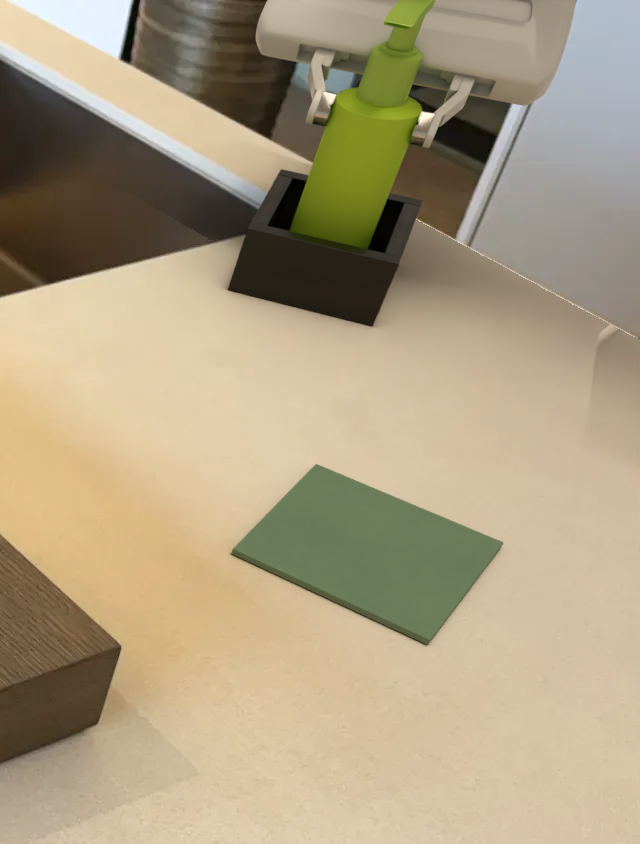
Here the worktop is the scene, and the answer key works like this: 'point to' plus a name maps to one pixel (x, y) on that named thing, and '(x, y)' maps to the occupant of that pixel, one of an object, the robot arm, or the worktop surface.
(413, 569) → the mat
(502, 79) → the robot arm
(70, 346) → the worktop surface
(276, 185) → the box
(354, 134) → the soap dispenser
